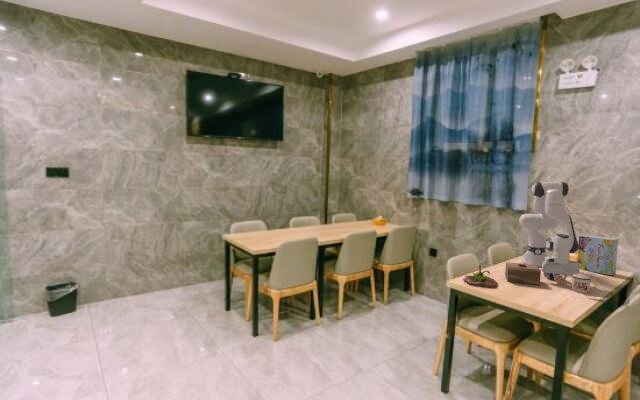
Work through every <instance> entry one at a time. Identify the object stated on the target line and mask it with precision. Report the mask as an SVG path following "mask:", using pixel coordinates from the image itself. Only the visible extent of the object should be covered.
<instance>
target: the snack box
mask: <svg viewBox="0 0 640 400" xmlns="http://www.w3.org/2000/svg"><path fill="white" fill-rule="evenodd" d="M578 245H579V248H578V250H577V251H578V253H577V261H578V262H579V263H580V268H579V270H582V271H586V272H591V273H597V274H602V275H607V276H614V275H616V272H617V259H618V246H619V239H618V238H612V237H606V236H605V237H602V236H594V235H585V234H584V235H583V234H581V235H579V236H578Z"/></svg>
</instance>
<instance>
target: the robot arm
mask: <svg viewBox="0 0 640 400" xmlns="http://www.w3.org/2000/svg"><path fill="white" fill-rule="evenodd" d="M531 186H532V187H531V194H532V195H533V196H534V198H533V199H534V200H533V203H532V208H533V210H535V212H537V213H523V214H522V215H520V216H519V218H518V221H519V222H518V223H519V225H520V226H521V227H522V228H524V229H525V231H526V233H527V236H528V245H527V251H526V252H525V253H523V254H522V255H523V256H522V257H523V258H522V260H521V264H530V265H537V266H538V267H541V271H542V273H543V274H544V273H553V276H554V280H553V281H555V282H556V281H558V280H557V279H558V278H557V277H555V275H556V274H560V275H563V283H565V282H566V279H567V278H568V276H571V277H572V276H573V275H574V274H578V273H580V272H581V271H580V269H579V268H580V263H579V262H578V260H570V257H571V255H570V254H575V253H577V251H578V248H579V240H578V239H577V235H576V232H575V228H574V224H573V220H572V217H571V215H570V214H568V212H567V211H566V208H565V199H564V197H566V196H568V194H569V189H570V188H569V184H568V183H567V182H564V181H537V182H534V183H533V184H532V185H531ZM559 223H561V225H563V227H564V232H565V234H563V233H557V234H555V236H551V237H547V239H546V236H545V234H542V233H540V232H539V231H538V229H541V230H552V229H556V228H557V227H558V225H559ZM546 250H547V251H548V252H553V253H552V255H549V256H548V254H547V253H546Z"/></svg>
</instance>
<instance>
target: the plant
mask: <svg viewBox="0 0 640 400" xmlns="http://www.w3.org/2000/svg"><path fill="white" fill-rule="evenodd" d="M478 269H479V270H478V272H472V275H465V276H464V278H463V279H462V281H463V280H464V281H463V282H464V283H465V282H467V283H466V284H467V285H468V284H469V285H468V286H472V285H473V287H479V286H480V288H488V289H495V288H498V282H497V281H496V280H495V279H494V278H491V277H490V275H491V271H489V270H483V272H482V266H481V264H480V265H478ZM485 272H486V273H487V274H488V275H486V274H485Z"/></svg>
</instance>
